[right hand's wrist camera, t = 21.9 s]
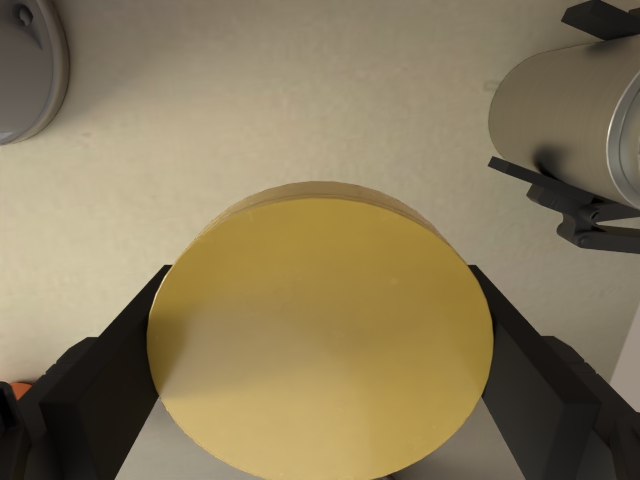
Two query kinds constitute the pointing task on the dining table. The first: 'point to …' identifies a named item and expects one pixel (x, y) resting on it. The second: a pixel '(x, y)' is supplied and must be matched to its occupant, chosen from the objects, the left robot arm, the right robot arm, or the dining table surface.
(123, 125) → the dining table surface
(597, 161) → the jar
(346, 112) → the dining table surface
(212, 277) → the lid
